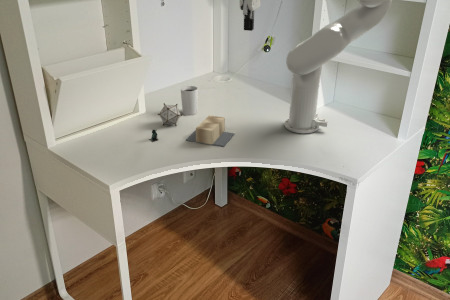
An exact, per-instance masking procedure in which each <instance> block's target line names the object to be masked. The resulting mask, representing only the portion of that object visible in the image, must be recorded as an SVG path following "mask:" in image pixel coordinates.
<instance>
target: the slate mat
mask: <svg viewBox="0 0 450 300" xmlns="http://www.w3.org/2000/svg"><path fill="white" fill-rule="evenodd" d="M234 136H235V132H230V131H229V132H228V131H224V132H223V133H222V134H221V135H220V136H219V138H218V139H217V140H216V141H215V142H214V143H213V144H209V145H211V146H216V147H223V148H225V146H226V145H228V143H229V141H230V140H231V139H232V138H233V137H234ZM185 141H187V142H193V143H198V144H202V143H201V142H196V129H195V130H194V131H193V132H192V133H190V134H189V136H187V138H186V139H185ZM203 144H205V145H208V144H207V143H203Z"/></svg>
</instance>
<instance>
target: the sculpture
mask: <svg viewBox="0 0 450 300" xmlns="http://www.w3.org/2000/svg"><path fill="white" fill-rule="evenodd" d="M157 131H158V129H152V130H151V137H150V138H149V139H148V141H149V142H151V143H155V142H158V141H159V138H158V133H157Z"/></svg>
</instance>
